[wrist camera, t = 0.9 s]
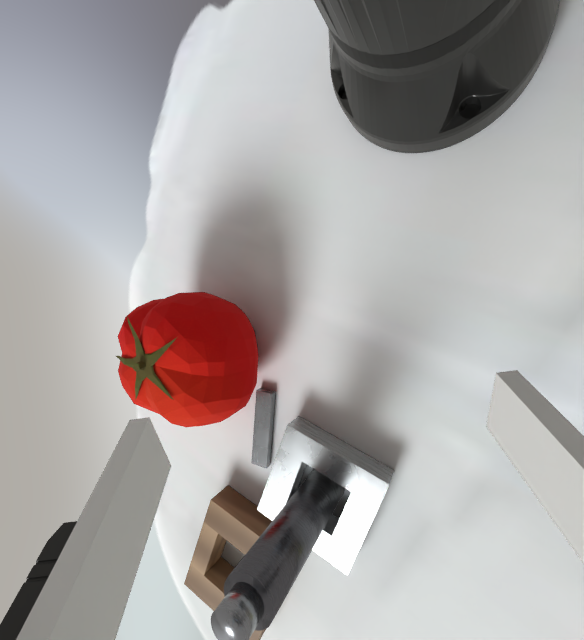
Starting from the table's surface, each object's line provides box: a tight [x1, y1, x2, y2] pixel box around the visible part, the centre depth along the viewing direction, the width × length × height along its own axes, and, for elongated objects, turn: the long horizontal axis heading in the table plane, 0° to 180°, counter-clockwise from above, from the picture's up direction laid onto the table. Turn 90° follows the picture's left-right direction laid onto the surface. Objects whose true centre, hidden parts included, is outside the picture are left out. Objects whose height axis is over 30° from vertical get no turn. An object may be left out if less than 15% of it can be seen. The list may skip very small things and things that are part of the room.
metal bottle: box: [211, 469, 344, 640], centre depth 26 cm, size 4×4×16 cm
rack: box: [184, 486, 272, 640], centre depth 37 cm, size 12×10×3 cm
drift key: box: [252, 388, 276, 468], centre depth 36 cm, size 8×2×1 cm, turn 175°
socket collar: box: [257, 416, 394, 575], centre depth 33 cm, size 10×10×2 cm
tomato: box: [116, 292, 258, 427], centre depth 32 cm, size 12×13×12 cm
